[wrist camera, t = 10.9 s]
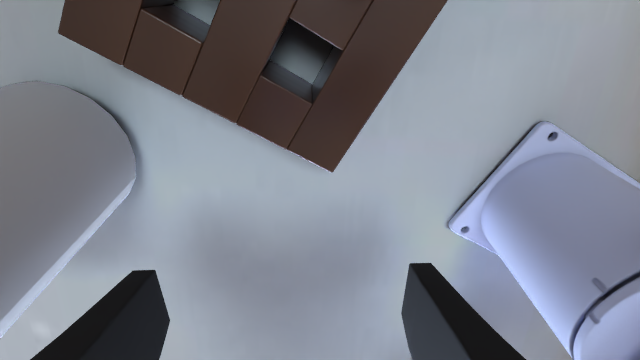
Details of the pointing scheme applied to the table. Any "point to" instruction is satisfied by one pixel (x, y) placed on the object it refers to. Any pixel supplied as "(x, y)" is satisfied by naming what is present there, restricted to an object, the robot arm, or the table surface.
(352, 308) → the table surface
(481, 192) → the robot arm
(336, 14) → the pencil stand
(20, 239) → the can
